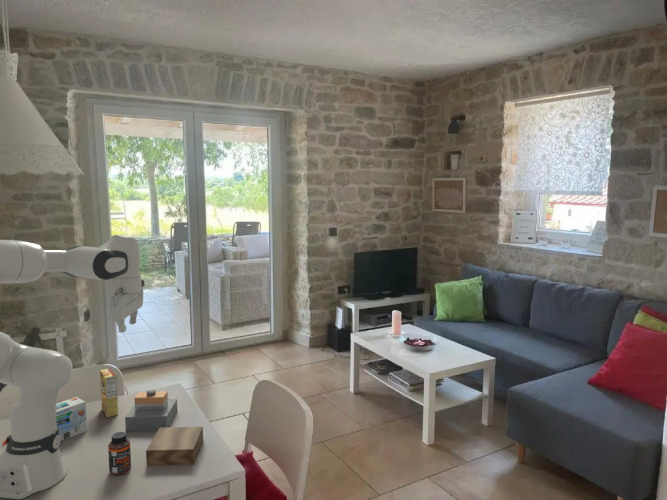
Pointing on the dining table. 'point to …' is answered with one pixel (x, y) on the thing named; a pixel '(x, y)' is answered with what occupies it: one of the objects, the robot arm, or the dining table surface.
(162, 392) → the cover
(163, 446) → the stand
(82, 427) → the light bulb box
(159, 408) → the housing base
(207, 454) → the dining table surface
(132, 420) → the stand
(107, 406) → the candy box
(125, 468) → the supplement bottle
